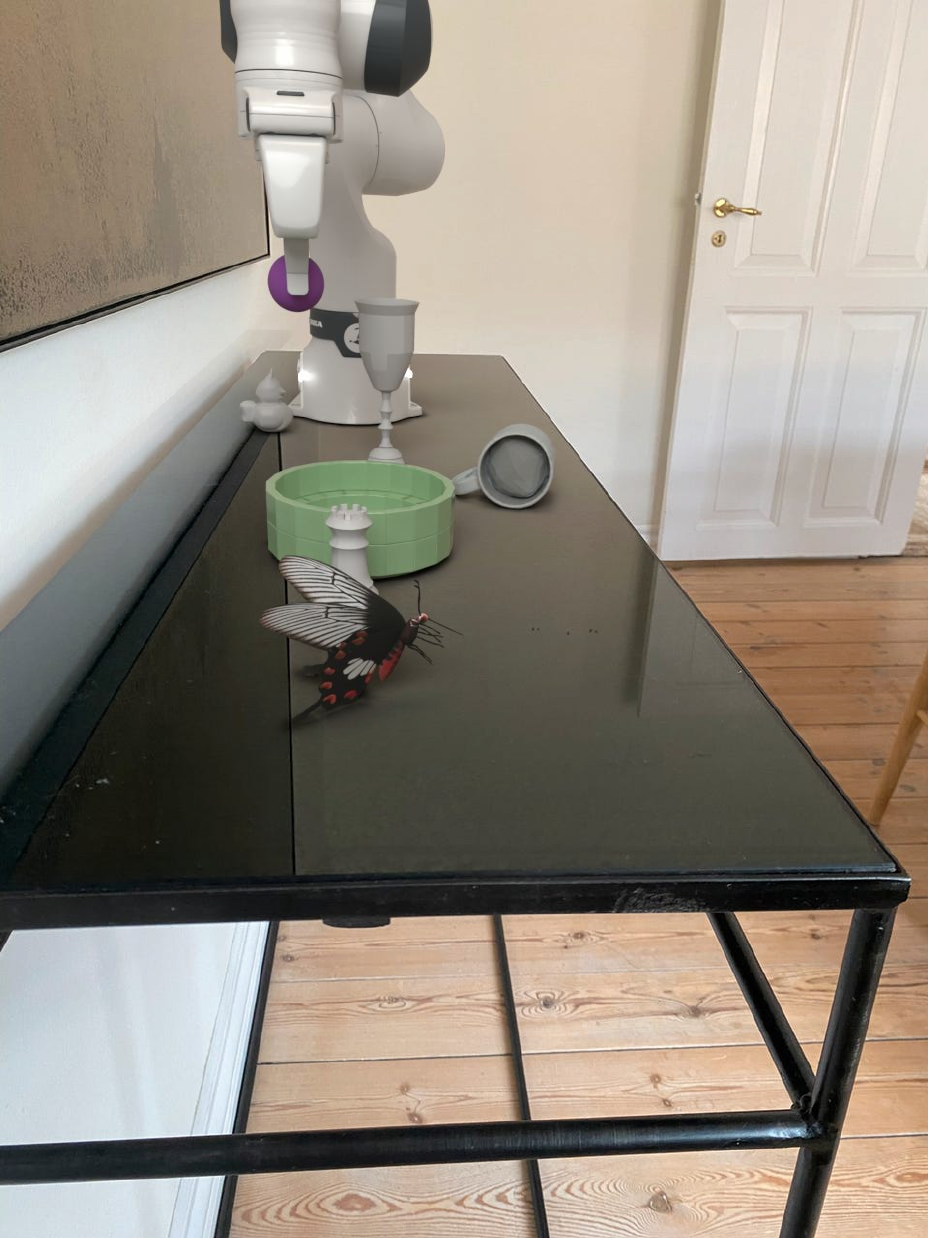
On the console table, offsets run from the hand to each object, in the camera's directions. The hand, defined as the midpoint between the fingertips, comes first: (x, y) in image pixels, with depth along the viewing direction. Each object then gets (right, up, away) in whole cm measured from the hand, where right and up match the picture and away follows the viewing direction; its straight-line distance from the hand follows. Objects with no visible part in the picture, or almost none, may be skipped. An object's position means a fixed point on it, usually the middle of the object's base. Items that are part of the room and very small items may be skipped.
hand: (297, 291), depth 83 cm
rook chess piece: (+7, -29, -15) cm, 34 cm away
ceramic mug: (+19, -17, +13) cm, 29 cm away
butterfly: (+8, -35, -28) cm, 46 cm away
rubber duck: (-10, -6, +35) cm, 37 cm away
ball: (0, +1, 0) cm, 1 cm away
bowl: (+6, -24, -3) cm, 25 cm away
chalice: (+6, -13, +21) cm, 25 cm away
